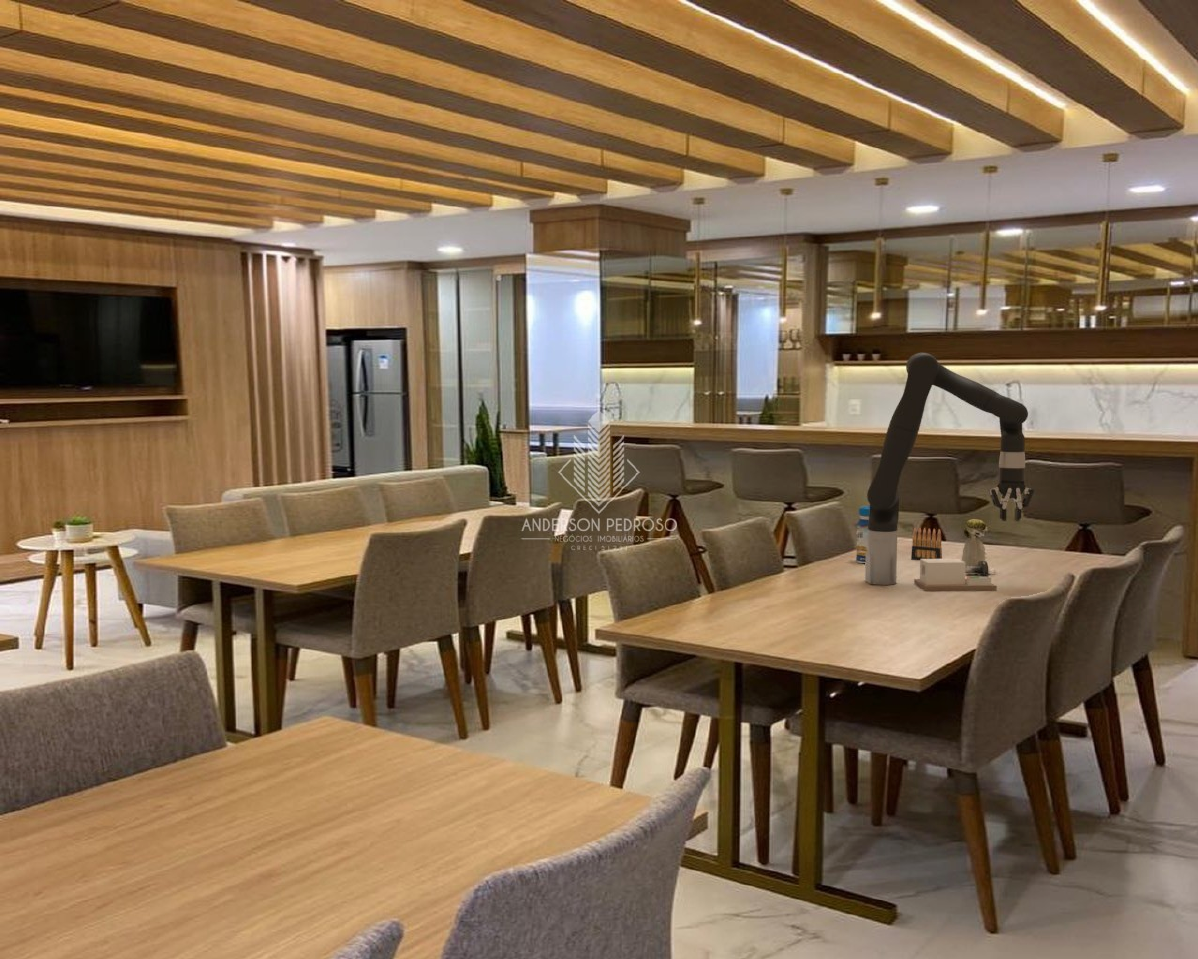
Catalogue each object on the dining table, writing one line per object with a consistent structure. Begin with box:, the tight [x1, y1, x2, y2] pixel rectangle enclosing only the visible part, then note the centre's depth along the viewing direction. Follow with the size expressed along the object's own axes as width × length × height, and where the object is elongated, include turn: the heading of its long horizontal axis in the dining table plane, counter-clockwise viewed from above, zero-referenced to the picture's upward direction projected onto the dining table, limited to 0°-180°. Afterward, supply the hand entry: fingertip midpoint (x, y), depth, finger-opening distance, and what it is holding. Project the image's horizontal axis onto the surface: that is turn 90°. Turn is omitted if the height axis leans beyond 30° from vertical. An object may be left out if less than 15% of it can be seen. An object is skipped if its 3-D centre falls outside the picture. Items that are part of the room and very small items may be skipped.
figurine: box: [961, 518, 997, 576], centre depth 355 cm, size 12×13×18 cm
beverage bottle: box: [855, 505, 870, 564], centre depth 377 cm, size 8×8×20 cm
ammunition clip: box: [910, 526, 943, 561], centre depth 380 cm, size 11×2×12 cm, turn 54°
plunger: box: [965, 560, 991, 577], centre depth 330 cm, size 14×8×6 cm, turn 90°
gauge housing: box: [913, 558, 998, 592], centre depth 332 cm, size 22×12×8 cm, turn 90°
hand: (1010, 520), depth 330 cm, fingers open, 3 cm apart
